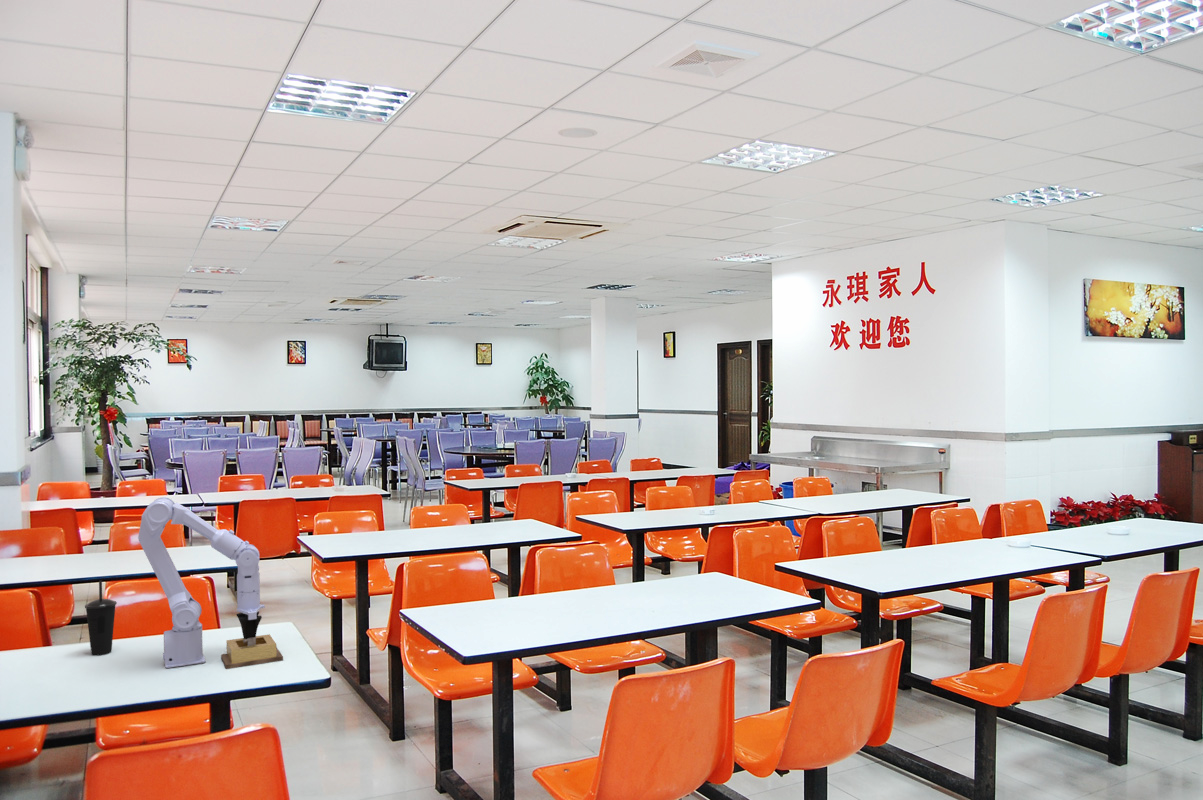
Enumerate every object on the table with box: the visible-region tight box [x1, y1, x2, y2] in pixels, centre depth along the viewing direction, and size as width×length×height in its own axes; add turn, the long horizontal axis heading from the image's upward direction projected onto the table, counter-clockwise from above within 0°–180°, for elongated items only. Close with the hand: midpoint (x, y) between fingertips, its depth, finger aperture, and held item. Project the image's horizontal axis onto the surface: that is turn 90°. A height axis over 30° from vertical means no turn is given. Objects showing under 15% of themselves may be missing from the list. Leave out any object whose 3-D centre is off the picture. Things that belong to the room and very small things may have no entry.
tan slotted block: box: [225, 634, 277, 664], centre depth 232 cm, size 11×11×4 cm
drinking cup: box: [84, 580, 118, 657], centre depth 240 cm, size 8×8×20 cm
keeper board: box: [220, 637, 284, 670], centre depth 232 cm, size 14×11×6 cm
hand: (249, 640), depth 236 cm, fingers open, 3 cm apart
